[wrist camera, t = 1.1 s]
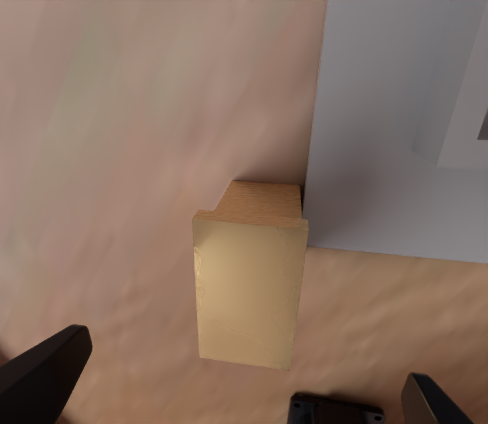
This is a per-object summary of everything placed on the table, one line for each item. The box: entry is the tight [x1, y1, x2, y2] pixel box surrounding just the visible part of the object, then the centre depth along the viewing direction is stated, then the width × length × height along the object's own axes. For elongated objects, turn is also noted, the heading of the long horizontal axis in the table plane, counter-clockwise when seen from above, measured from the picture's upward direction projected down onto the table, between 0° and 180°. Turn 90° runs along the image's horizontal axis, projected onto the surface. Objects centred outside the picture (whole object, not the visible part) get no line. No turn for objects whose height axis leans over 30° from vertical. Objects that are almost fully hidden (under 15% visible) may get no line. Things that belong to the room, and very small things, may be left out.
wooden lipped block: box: [192, 181, 309, 371], centre depth 13 cm, size 6×4×7 cm, turn 178°
